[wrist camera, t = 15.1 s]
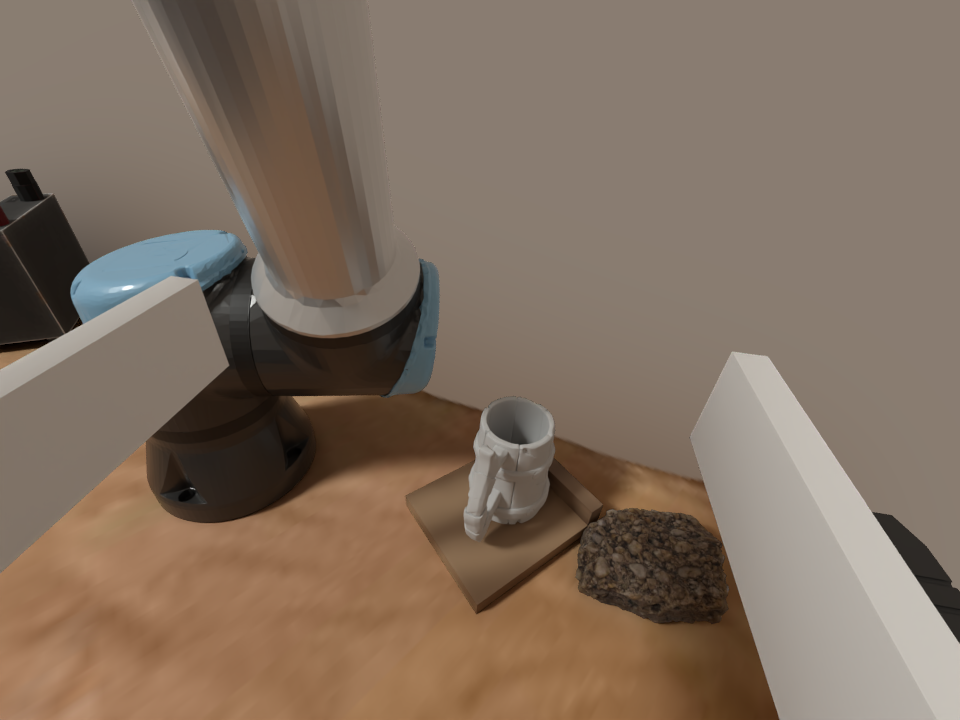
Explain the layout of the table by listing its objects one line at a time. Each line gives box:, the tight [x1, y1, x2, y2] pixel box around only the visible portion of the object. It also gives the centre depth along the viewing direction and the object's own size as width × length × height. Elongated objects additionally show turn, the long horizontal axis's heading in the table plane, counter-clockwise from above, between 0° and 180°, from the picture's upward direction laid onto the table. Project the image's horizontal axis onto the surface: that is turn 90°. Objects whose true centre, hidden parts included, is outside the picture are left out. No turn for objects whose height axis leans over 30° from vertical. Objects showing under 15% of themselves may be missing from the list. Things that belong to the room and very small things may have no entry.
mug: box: [464, 396, 555, 542], centre depth 37 cm, size 8×12×12 cm, turn 152°
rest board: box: [406, 458, 603, 614], centre depth 40 cm, size 12×14×4 cm
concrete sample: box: [576, 508, 729, 624], centre depth 36 cm, size 12×10×5 cm
